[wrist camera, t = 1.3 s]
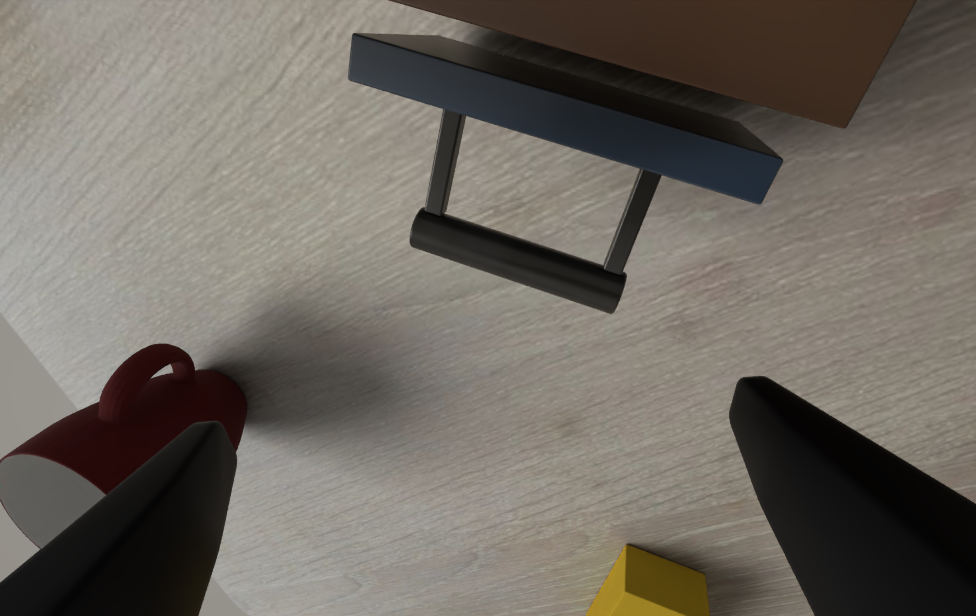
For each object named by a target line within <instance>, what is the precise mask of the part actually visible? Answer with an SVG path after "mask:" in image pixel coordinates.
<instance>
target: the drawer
mask: <svg viewBox="0 0 976 616" xmlns="http://www.w3.org/2000/svg"><path fill="white" fill-rule="evenodd" d="M348 79H349V80H350V81H353V82H356V83H359V84H363V85H366V86H369V87H372V88H376V89H379V90H382V91H386V92H389V93H392V94H396V95H399V96H402V97H405V98H409V99H412V100H415V101H419V102H422V103H425V104H429V105H432V106H435V107H438V108H442V109H443V114H442V119H441V125H440V130H439V135H438V141H437V146H436V151H435V157H434V162H433V167H432V173H431V178H430V183H429V188H428V194H427V199H426V204H425V207H423V208H421V209H420V210H419V212H418V213H417V215H416V217H415V219H414V222H413V224H412V228H411V232H410V245H411V246H412V247H413V248H416V249H419V250H422V251H425V252H428V253H431V254H434V255H437V256H440V257H443V258H446V259H449V260H452V261H455V262H458V263H461V264H464V265H467V266H470V267H473V268H476V269H479V270H482V271H484V272H487V273H490V274H493V275H496V276H499V277H502V278H505V279H508V280H511V281H514V282H517V283H520V284H523V285H526V286H529V287H532V288H535V289H538V290H541V291H544V292H547V293H550V294H553V295H556V296H559V297H562V298H565V299H568V300H571V301H574V302H577V303H580V304H583V305H586V306H589V307H592V308H594V309H597V310H600V311H603V312H606V313H609V314H613V312H614V311H615V310H616V308H617V305H618V303H619V301H620V298H621V296H622V293H623V290H624V286H625V283H626V278H627V274H626V273H625V272H623V270H624V267H625V265H626V262H627V260H628V257H629V255H630V252H631V250H632V247H633V245H634V243H635V240H636V238H637V235H638V233H639V230H640V228H641V225H642V223H643V220H644V218H645V215H646V213H647V210H648V208H649V206H650V203H651V201H652V198H653V196H654V193H655V191H656V188H657V186H658V183H659V181H660V178H661V176H662V175H663V176H666V177H669V178H672V179H676V180H679V181H682V182H686V183H689V184H692V185H696V186H699V187H702V188H705V189H709V190H712V191H715V192H719V193H722V194H725V195H728V196H732V197H735V198H738V199H742V200H745V201H748V202H752V203H755V204H761V203H762V202H763V200H764V198H765V196H766V194H767V192H768V190H769V188H770V186H771V184H772V182H773V180H774V178H775V176H776V174H777V172H778V171H779V169H780V167H781V165H782V163H783V159H782V158H781V157H780V156H779V155H778V154H777V153H775V152H774V151H773V150H772V149H771V148H769V147H768V146H767V145H766V144H765V143H763V142H762V141H761V140H760V139H759V138H757V137H756V136H755V135H754V134H753V133H752V132H750V131H749V130H748V129H747V128H746V127H744V126H743V125H742V124H741V123H740V122H738V121H734V120H731V119H727V118H724V117H720V116H717V115H713V114H710V113H706V112H703V111H699V110H696V109H692V108H689V107H685V106H682V105H679V104H675V103H672V102H668V101H665V100H661V99H658V98H654V97H651V96H647V95H644V94H640V93H637V92H633V91H630V90H626V89H623V88H619V87H616V86H612V85H609V84H605V83H602V82H598V81H595V80H592V79H588V78H585V77H581V76H578V75H574V74H571V73H567V72H564V71H560V70H557V69H553V68H550V67H546V66H543V65H539V64H536V63H532V62H529V61H525V60H522V59H518V58H515V57H511V56H508V55H505V54H501V53H498V52H494V51H491V50H487V49H484V48H480V47H477V46H473V45H470V44H466V43H463V42H459V41H456V40H452V39H449V38H445V37H442V36H438V35H403V34H369V33H353V35H352V42H351V52H350V62H349V72H348ZM466 116H468V117H471V118H475V119H478V120H481V121H485V122H488V123H491V124H494V125H498V126H501V127H504V128H508V129H511V130H514V131H518V132H521V133H524V134H527V135H531V136H534V137H537V138H541V139H544V140H547V141H550V142H554V143H557V144H560V145H564V146H567V147H570V148H574V149H577V150H580V151H583V152H587V153H590V154H593V155H597V156H600V157H603V158H607V159H610V160H613V161H616V162H620V163H623V164H626V165H630V166H633V167H636V168H639V169H640V170H639V173H638V175H637V178H636V180H635V183H634V186H633V188H632V191H631V193H630V196H629V199H628V201H627V204H626V207H625V209H624V212H623V214H622V217H621V220H620V222H619V225H618V227H617V230H616V233H615V235H614V238H613V241H612V243H611V246H610V248H609V251H608V254H607V256H606V259H605V261H604V265H601V264H598V263H595V262H592V261H589V260H585V259H582V258H579V257H576V256H573V255H570V254H567V253H564V252H561V251H558V250H555V249H552V248H549V247H546V246H543V245H539V244H536V243H533V242H530V241H527V240H524V239H521V238H518V237H515V236H512V235H509V234H506V233H503V232H500V231H497V230H494V229H490V228H487V227H484V226H481V225H478V224H475V223H472V222H469V221H466V220H463V219H460V218H457V217H454V216H451V215H448V214H445V212H446V210H447V205H448V200H449V196H450V191H451V186H452V181H453V177H454V172H455V167H456V162H457V157H458V153H459V148H460V143H461V138H462V134H463V129H464V124H465V119H466Z"/></svg>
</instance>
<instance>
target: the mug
mask: <svg viewBox="0 0 976 616" xmlns="http://www.w3.org/2000/svg"><path fill="white" fill-rule="evenodd" d="M169 364H171V366H172V369H173V373H170V374H165V375H161V376H157V377H154V378H151V377H152V376H153V375H154V374H156V373H157V372H158V371H159V370H161V369H162V368H163V367H165V366H167V365H169ZM150 378H151V379H150ZM246 415H247V402H246V399H245V396H244V394H243V392H242V391H241V389H240V388H239V387H238V386H237V385H236V383H235V382H233V381H232V380H231V379H230V378H228V377H227V376H225V375H224V374H222V373H219V372H217V371H213V370H195V367H194V363H193V361H192V358H191V357H190V356H189V355H188V354H187V353H186V352H185V351H184V350H182V349H180V348H179V347H176V346H173V345H170V344H154V345H150V346H148V347H146V348H143V349H141V350H140V351H138V352H136V353H135V354H133V355H132V356H131V357H129V358H128V359H127V360H126V361H124V362H123V363H122V364H121V365H120V366H119V367H118V368H117V370H116V371H115V372H114V373H113V375H112V376H111V377H110V379H109V380H108V382H107V383H106V385H105V387H104V389H103V391H102V394H101V397H100V401H99V402H97V403H95V404H93V405H90V406H88V407H86V408H84V409H82V410H79V411H77V412H75V413H73V414H71V415H69V416H67V417H65V418H63V419H61V420H59V421H58V422H56V423H54V424H52V425H51V426H49V427H47V428H46V429H44V430H43V431H41V432H40V433H38V434H37V435H35V436H34V437H32V438H31V439H29V440H28V441H26V442H25V443H23V444H22V445H20V446H19V447H17V448H16V449H14V450H13V451H12V452H10V453H9V454H7V455H6V456H4V457H3V458H2V459H1V460H0V501H1V503H2V505H3V507H4V509H5V510H6V512H7V513H8V515H9V516H10V518H11V519H12V520H13V522H14V523H15V524H16V525H17V527H18V528H19V529H20V530H21V531H22V532H23V533H24V534H25V535H26V536H27V537H28V538H29V539H30V540H31V541H32V542H33V543H34V544H35V545H36V546H37V547H38V548H40V549H42V548H43V547H44V546H45V545H46V544H48V543H49V542H50V541H51V540H52V539H54V538H55V537H56V536H57V535H58V534H60V533H61V532H62V531H63V530H65V529H66V528H67V527H68V526H69V525H71V524H72V523H73V522H74V521H75V520H77V519H78V518H79V517H80V516H81V515H83V514H84V513H85V512H86V511H88V510H89V509H90V508H91V507H92V506H94V505H95V504H96V503H97V502H98V501H100V500H101V499H102V498H103V497H104V496H106V495H107V494H108V493H109V492H111V491H112V490H113V489H114V488H115V487H117V486H118V485H119V484H120V483H121V482H123V481H124V480H125V479H126V478H127V477H129V476H130V475H131V474H132V473H134V472H135V471H136V470H137V469H138V468H140V467H141V466H142V465H143V464H144V463H146V462H147V461H148V460H149V459H150V458H152V457H153V456H154V455H155V454H156V453H158V452H159V451H160V450H161V449H163V448H164V447H165V446H166V445H167V444H169V443H170V442H171V441H172V440H173V439H175V438H176V437H177V436H178V435H179V434H181V433H182V432H183V431H184V430H186V429H187V428H188V427H189V426H191V425H192V424H194V423H197V422H207V421H219V422H220V423H221V424H222V425H223V426H224V428H225V430H226V432H227V435H228V437H229V439H230V441H231V443H232V445H233V447H234V449H235V452H236V451H237V449H238V446H239V443H240V440H241V436H242V433H243V428H244V424H245V420H246Z"/></svg>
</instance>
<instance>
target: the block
mask: <svg viewBox="0 0 976 616" xmlns="http://www.w3.org/2000/svg"><path fill="white" fill-rule="evenodd" d="M586 616H710V612H709V603H708V595H707V586H706V578H705V574H703V573H700V572H698V571H695V570H692V569H690V568H687V567H685V566H682V565H679V564H677V563H674V562H672V561H669V560H666V559H664V558H661V557H659V556H656V555H653V554H651V553H648V552H646V551H643V550H640V549H638V548H635V547H633V546H630V545H627V544H626V545H625V547H624V549H623V551H622V552H621V554H620V556H619V558H618V559H617V561H616V563H615V565H614V566H613V568H612V570H611V572H610V573H609V575H608V577H607V579H606V580H605V582H604V584H603V586H602V587H601V589H600V591H599V593H598V594H597V596H596V598H595V600H594V601H593V603H592V605H591V607H590V608H589V610H588V612H587V614H586Z"/></svg>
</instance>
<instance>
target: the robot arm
mask: <svg viewBox="0 0 976 616" xmlns="http://www.w3.org/2000/svg"><path fill="white" fill-rule="evenodd" d="M729 419H730V424H731V427H732V430H733V432H734V435H735V438H736V441H737V443H738V446H739V449H740V452H741V454H742V457H743V460H744V462H745V465H746V468H747V471H748V473H749V476H750V479H751V482H752V484H753V487H754V490H755V492H756V495H757V498H758V500H759V503H760V505H761V507H762V509H763V511H764V513H765V516H766V518H767V520H768V522H769V524H770V526H771V528H772V530H773V532H774V534H775V536H776V538H777V540H778V542H779V544H780V546H781V548H782V550H783V552H784V554H785V556H786V558H787V560H788V562H789V564H790V566H791V568H792V570H793V572H794V574H795V576H796V578H797V580H798V582H799V584H800V586H801V589H802V591H803V593H804V595H805V597H806V599H807V601H808V603H809V605H810V607H811V609H812V611H813V613H814V615H815V616H976V504H975V503H974V502H972V501H970V500H969V499H967V498H965V497H964V496H962V495H960V494H959V493H957V492H956V491H954V490H952V489H951V488H949V487H947V486H946V485H944V484H942V483H941V482H939V481H937V480H936V479H934V478H932V477H931V476H929V475H927V474H926V473H924V472H923V471H921V470H919V469H918V468H916V467H914V466H913V465H911V464H909V463H908V462H906V461H904V460H903V459H901V458H899V457H898V456H896V455H895V454H893V453H891V452H890V451H888V450H886V449H885V448H883V447H881V446H880V445H878V444H876V443H875V442H873V441H871V440H870V439H868V438H866V437H865V436H863V435H862V434H860V433H858V432H857V431H855V430H853V429H852V428H850V427H848V426H847V425H845V424H843V423H842V422H840V421H838V420H837V419H835V418H834V417H832V416H830V415H829V414H827V413H825V412H824V411H822V410H820V409H819V408H817V407H815V406H814V405H812V404H810V403H809V402H807V401H806V400H804V399H802V398H801V397H799V396H797V395H796V394H794V393H792V392H791V391H789V390H787V389H786V388H784V387H782V386H781V385H779V384H777V383H776V382H774V381H773V380H771V379H769V378H767V377H765V376H753V377H743V378H741V379H740V380H739V381H738V382H737V385H736V389H735V392H734V396H733V399H732V403H731V407H730V411H729ZM236 467H237V455H236V452H235V449H234V447H233V445H232V443H231V441H230V439H229V437H228V435H227V432H226V430H225V428H224V426H223V425H222V424H221V423H220V422H219V421H207V422H197V423H194V424H192V425H191V426H189V427H188V428H187V429H186V430H184V431H183V432H182V433H181V434H179V435H178V436H177V437H176V438H175V439H173V440H172V441H171V442H170V443H169V444H167V445H166V446H165V447H164V448H163V449H161V450H160V451H159V452H158V453H156V454H155V455H154V456H153V457H152V458H150V459H149V460H148V461H147V462H146V463H144V464H143V465H142V466H141V467H140V468H138V469H137V470H136V471H135V472H134V473H132V474H131V475H130V476H129V477H127V478H126V479H125V480H124V481H123V482H121V483H120V484H119V485H118V486H117V487H115V488H114V489H113V490H112V491H111V492H109V493H108V494H107V495H106V496H104V497H103V498H102V499H101V500H100V501H98V502H97V503H96V504H95V505H94V506H92V507H91V508H90V509H89V510H88V511H86V512H85V513H84V514H83V515H81V516H80V517H79V518H78V519H77V520H75V521H74V522H73V523H72V524H71V525H69V526H68V527H67V528H66V529H65V530H63V531H62V532H61V533H60V534H58V535H57V536H56V537H55V538H54V539H52V540H51V541H50V542H49V543H48V544H46V545H45V546H44V547H43V548H42V549H40V550H39V551H38V552H37V553H35V554H34V555H33V556H32V557H31V558H30V559H28V560H27V561H26V562H25V563H23V564H22V565H21V566H20V567H19V568H17V569H16V570H15V571H14V572H12V573H11V574H10V575H9V576H8V577H6V578H5V579H4V580H3V581H2V582H0V616H198V615H199V612H200V609H201V606H202V602H203V600H204V596H205V593H206V590H207V587H208V584H209V581H210V578H211V575H212V572H213V569H214V565H215V562H216V559H217V555H218V552H219V548H220V544H221V540H222V535H223V531H224V526H225V521H226V516H227V511H228V506H229V501H230V496H231V492H232V487H233V482H234V477H235V472H236Z"/></svg>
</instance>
